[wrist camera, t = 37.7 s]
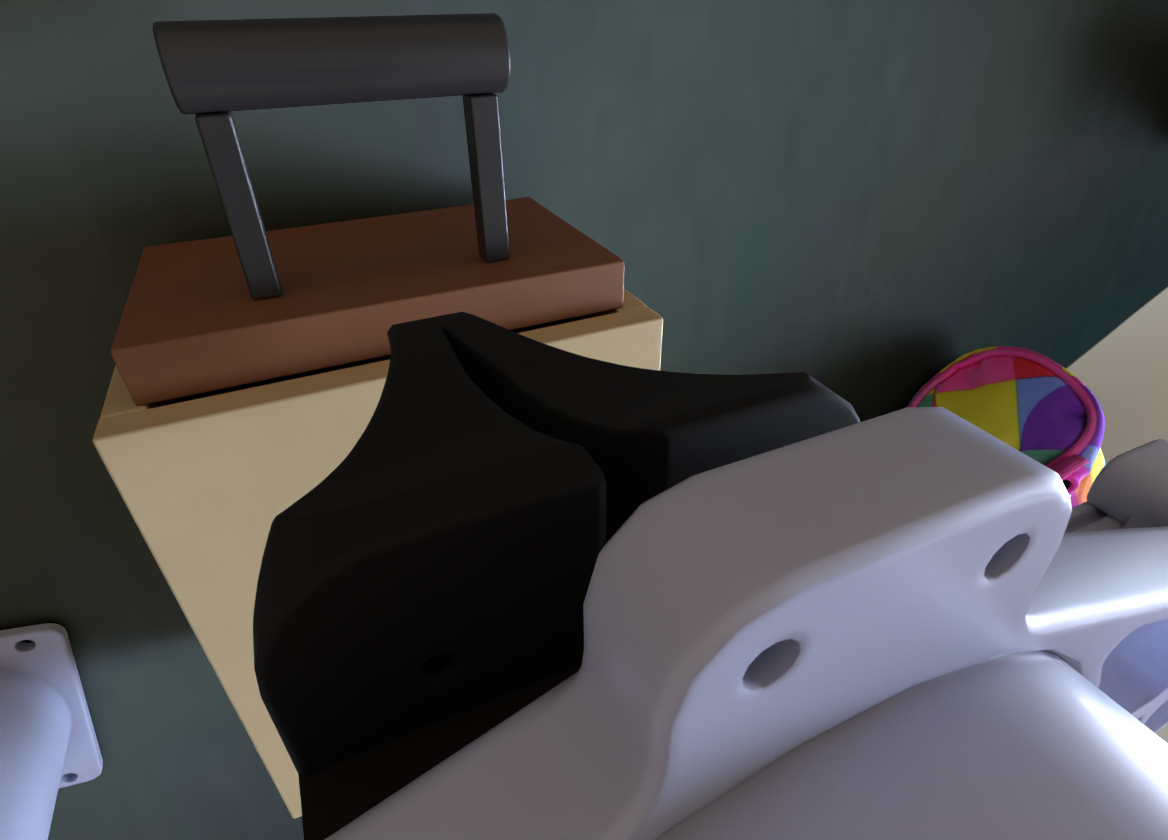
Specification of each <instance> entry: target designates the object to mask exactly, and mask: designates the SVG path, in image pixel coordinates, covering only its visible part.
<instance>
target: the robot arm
mask: <svg viewBox="0 0 1168 840" xmlns="http://www.w3.org/2000/svg"><path fill="white" fill-rule="evenodd" d="M387 335H388V340H389V345H390V350H391V357H390V363H389V369H388V374H387V378H386V381H385V385H384V388H383V391H382V394H381V397H380V400H379V402H378V405H377V407H376V409H375V412H374V414H373V416H372V418H371V420H370V422H369V424H368V425H367V427H366V429H365V431H364V432H363V434H362V435H361V437H360V438H359V440H358V441H357V443H356V444H355V446H354V448H353V449H352V450H351V452H350V453H349V454H348V456H347V457H346V458H345V459H344V460H343V461H342V462H341V463H340V465H339V466H338V467H337V468H336V469H335V470H333V471H332V472H331V473H330V474H329V475H328V476H327V477H326V478H325V479H324V480H323V481H322V482H321V483H320V484H318V485H317V486H316V487H315V488H313V489H312V490H311V491H310V492H308V493H307V494H306V495H304V496H303V497H302V498H300V499H299V500H298V501H296V502H295V503H294V504H292V505H291V506H290V507H288V508H287V509H286V510H284V511H283V512H281V513H280V514H278V515H277V516H276V517H275V518H274V520H273V522H272V524H271V528H270V531H269V534H268V538H267V542H266V546H265V550H264V554H263V557H262V562H261V567H260V572H259V577H258V583H257V590H256V598H255V604H254V615H253V647H254V670H255V674H256V679H257V683H258V687H259V692H260V696H261V698H262V700H263V702H264V705H265V707H266V709H267V711H268V713H269V715H270V717H271V719H272V721H273V723H274V725H275V727H276V729H277V731H278V733H279V735H280V738H281V740H282V742H283V744H284V746H285V748H286V750H287V752H288V754H289V756H290V758H291V760H292V762H293V764H294V766H295V768H296V771H297V773H298V776H299V787H300V798H301V809H302V820H303V831H304V840H1168V743H1166V742H1165V741H1164V740H1163V739H1161V738H1160V737H1159V736H1158V735H1156V734H1155V733H1157V732H1158V731H1159V730H1161V729H1162V728H1163V727H1165V726H1166V725H1167V724H1168V441H1166V440H1164V439H1158V440H1154V441H1151V442H1149V443H1147V444H1144V445H1142V446H1139V447H1137V448H1135V449H1132V450H1130V451H1127V452H1125V453H1123V454H1120V455H1118V456H1116V457H1115V458H1113V459H1112V460H1110V461H1109V462H1108V463H1107V464H1106V465H1105V466H1104V467H1103V468H1102V470H1101V471H1100V472H1099V474H1098V475H1097V477H1096V478H1095V480H1094V482H1093V484H1092V486H1091V488H1090V490H1089V492H1088V494H1087V502H1084V503H1082V504H1080V505H1077V506H1075V507H1073V508H1072V506H1071V501H1070V496H1069V494H1068V492H1067V490H1066V488H1065V486H1064V484H1063V482H1062V480H1061V478H1060V476H1059V474H1058V473H1056V472H1055V471H1053V470H1051V469H1050V468H1048V467H1046V466H1044V465H1043V464H1041V463H1039V462H1037V461H1036V460H1034V459H1032V458H1030V457H1029V456H1027V455H1025V454H1023V453H1022V452H1020V451H1018V450H1017V449H1015V448H1013V447H1011V446H1010V445H1008V444H1006V443H1004V442H1003V441H1001V440H999V439H997V438H996V437H994V436H992V435H990V434H989V433H987V432H985V431H984V430H982V429H980V428H978V427H977V426H975V425H973V424H971V423H970V422H968V421H966V420H964V419H963V418H961V417H959V416H957V415H956V414H954V413H952V412H951V411H949V410H947V409H945V408H944V407H907V408H904V409H901V410H897V411H894V412H891V413H888V414H885V415H882V416H879V417H875V418H872V419H869V420H866V421H863V422H860V419H859V417H858V416H857V414H856V412H855V410H854V408H853V407H852V405H851V404H850V403H849V402H847V401H846V400H844V399H843V398H842V397H840V396H839V395H837V394H836V393H834V392H833V391H831V390H830V389H828V388H827V387H826V386H824V385H823V384H821V383H820V382H818V381H817V380H815V379H814V378H812V377H811V376H809V375H808V374H806V373H804V372H800V373H777V374H754V375H713V374H690V373H676V372H667V371H659V370H651V369H643V368H636V367H630V366H624V365H619V364H614V363H610V362H605V361H601V360H597V359H592V358H588V357H584V356H581V355H577V354H574V353H571V352H568V351H565V350H561V349H558V348H555V347H552V346H549V345H546V344H544V343H541V342H538V341H536V340H533V339H530V338H528V337H525V336H523V335H520V334H518V333H516V332H513V331H511V330H508V329H506V328H504V327H501V326H499V325H497V324H494V323H492V322H490V321H487V320H485V319H482V318H480V317H478V316H475V315H472V314H469V313H466V312H458V313H452V314H447V315H442V316H436V317H431V318H426V319H420V320H415V321H410V322H404V323H399V324H394V325H392V326H391V327H390V329H389V330H388V331H387ZM22 640H31V641H33V642H21V641H22ZM102 767H103V759H102V756H101V752H100V749H99V745H98V741H97V738H96V734H95V731H94V727H93V724H92V720H91V716H90V713H89V709H88V706H87V702H86V699H85V695H84V692H83V688H82V684H81V681H80V677H79V674H78V670H77V667H76V663H75V659H74V656H73V652H72V649H71V645H70V642H69V638H68V635H67V631H66V630H65V628H64V627H63V626H61V625H59V624H54V623H44V624H38V625H31V626H25V627H19V628H13V629H7V630H0V840H48V835H49V830H50V826H51V821H52V816H53V812H54V807H55V802H56V797H57V793H58V789H59V788H63V787H67V786H71V785H74V784H78V783H82V782H86V781H89V780H92V779H94V778H96V777H97V776H99V775H100V773H101V772H102Z"/></svg>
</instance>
